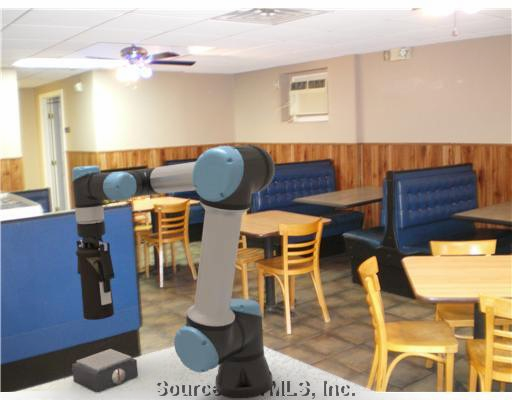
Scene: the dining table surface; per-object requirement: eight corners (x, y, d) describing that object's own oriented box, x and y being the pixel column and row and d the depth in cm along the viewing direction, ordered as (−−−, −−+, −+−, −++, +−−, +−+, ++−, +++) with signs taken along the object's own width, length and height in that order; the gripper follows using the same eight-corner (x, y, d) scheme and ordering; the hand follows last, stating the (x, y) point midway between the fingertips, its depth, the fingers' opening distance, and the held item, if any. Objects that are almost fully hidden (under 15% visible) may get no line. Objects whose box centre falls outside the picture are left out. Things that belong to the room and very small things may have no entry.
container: (106, 320, 152) (100, 248, 150) (76, 320, 154) (69, 249, 152) (120, 311, 160) (114, 242, 158) (91, 311, 162) (85, 243, 160)
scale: (139, 377, 158) (137, 356, 158) (99, 393, 149) (96, 372, 148) (113, 366, 168) (111, 347, 167) (73, 381, 159) (71, 361, 158)
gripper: (123, 221, 150) (130, 303, 152) (83, 218, 164) (90, 293, 167) (98, 225, 144) (106, 310, 147) (59, 221, 159) (67, 299, 161)
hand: (98, 301), depth 157 cm, fingers closed on container, 8 cm apart
